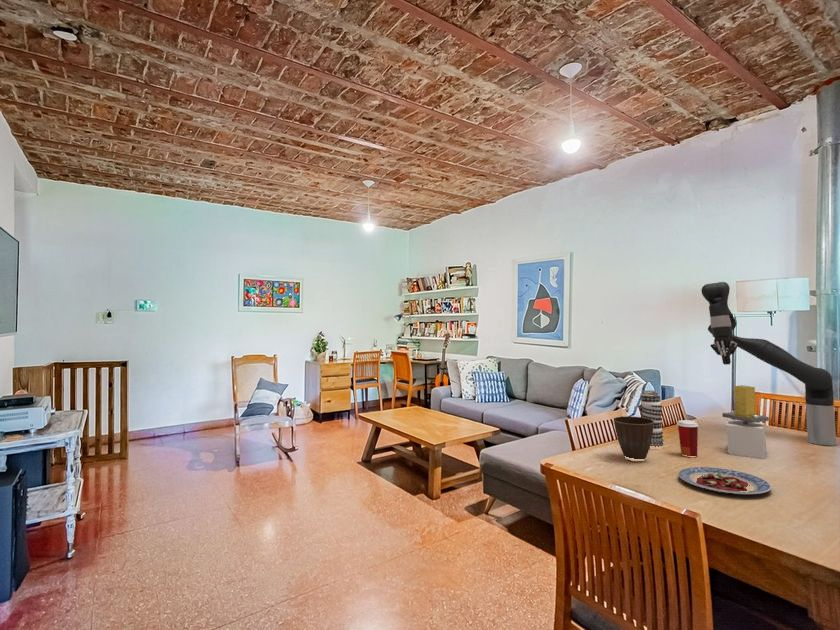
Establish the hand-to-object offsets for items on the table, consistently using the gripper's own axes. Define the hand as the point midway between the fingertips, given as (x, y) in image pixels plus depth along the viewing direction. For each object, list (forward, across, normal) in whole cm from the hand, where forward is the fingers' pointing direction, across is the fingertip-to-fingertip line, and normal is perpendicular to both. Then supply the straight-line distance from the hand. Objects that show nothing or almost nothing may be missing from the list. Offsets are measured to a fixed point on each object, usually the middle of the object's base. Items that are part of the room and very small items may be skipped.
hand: (727, 364), depth 193 cm
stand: (+37, +8, -5) cm, 38 cm away
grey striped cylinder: (+35, -10, -35) cm, 50 cm away
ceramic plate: (+38, +36, -45) cm, 69 cm away
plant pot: (+35, +4, -54) cm, 65 cm away
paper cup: (+36, +5, -30) cm, 47 cm away
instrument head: (+22, +9, -4) cm, 24 cm away
